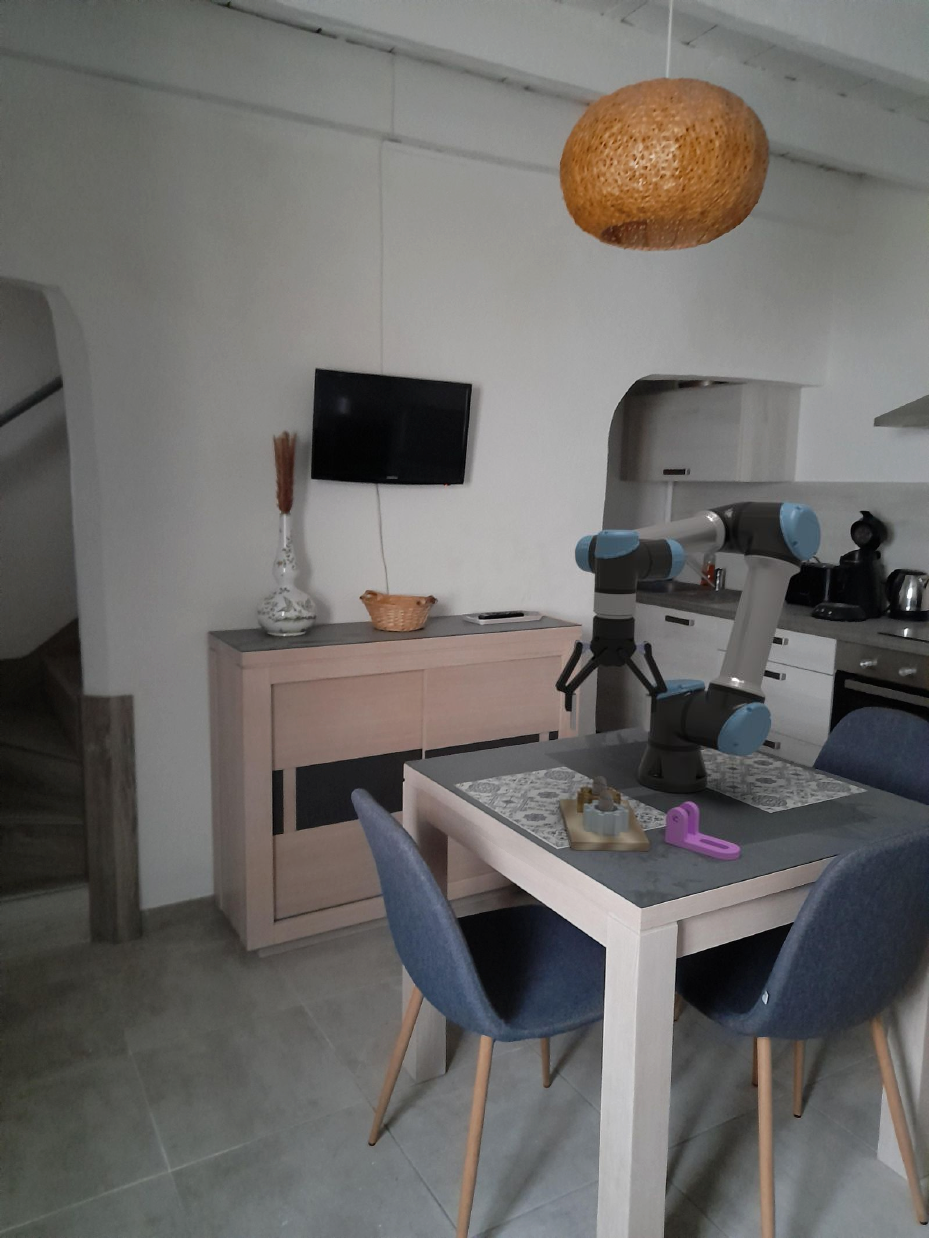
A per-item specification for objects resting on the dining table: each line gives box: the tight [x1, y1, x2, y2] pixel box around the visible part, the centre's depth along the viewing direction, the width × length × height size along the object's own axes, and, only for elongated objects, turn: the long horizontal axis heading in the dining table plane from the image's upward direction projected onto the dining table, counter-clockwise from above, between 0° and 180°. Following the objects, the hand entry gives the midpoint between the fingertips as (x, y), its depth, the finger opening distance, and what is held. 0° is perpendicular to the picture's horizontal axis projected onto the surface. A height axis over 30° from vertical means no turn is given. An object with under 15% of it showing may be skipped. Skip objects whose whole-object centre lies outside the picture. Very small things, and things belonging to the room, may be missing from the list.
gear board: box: [558, 775, 651, 852], centre depth 170 cm, size 14×22×9 cm, turn 0°
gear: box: [583, 800, 629, 836], centre depth 166 cm, size 8×8×4 cm
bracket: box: [664, 801, 741, 861], centre depth 161 cm, size 13×6×7 cm, turn 47°
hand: (609, 729), depth 163 cm, fingers open, 13 cm apart
